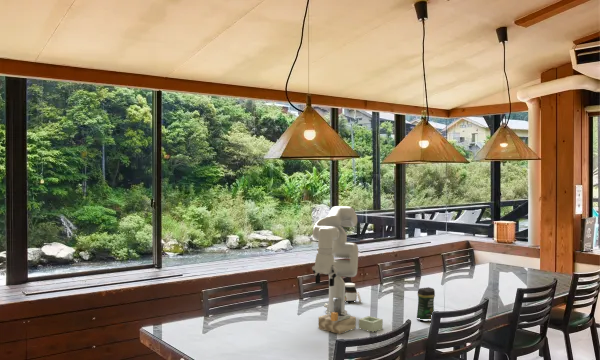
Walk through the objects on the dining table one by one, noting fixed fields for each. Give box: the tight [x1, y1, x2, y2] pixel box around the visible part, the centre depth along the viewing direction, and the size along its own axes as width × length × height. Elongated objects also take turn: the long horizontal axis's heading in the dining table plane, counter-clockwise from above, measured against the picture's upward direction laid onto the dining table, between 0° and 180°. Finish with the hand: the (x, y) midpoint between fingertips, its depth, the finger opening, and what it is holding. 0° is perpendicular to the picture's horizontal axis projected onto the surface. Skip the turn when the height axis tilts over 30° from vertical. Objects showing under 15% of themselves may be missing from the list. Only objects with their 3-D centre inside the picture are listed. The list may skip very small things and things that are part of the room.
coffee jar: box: [416, 286, 436, 319], centre depth 278 cm, size 10×8×19 cm
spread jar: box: [345, 282, 362, 303], centre depth 318 cm, size 12×11×12 cm
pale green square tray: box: [358, 315, 384, 333], centre depth 259 cm, size 9×9×5 cm
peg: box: [333, 297, 342, 315], centre depth 259 cm, size 4×4×16 cm
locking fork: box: [329, 312, 351, 322], centre depth 255 cm, size 10×14×5 cm
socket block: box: [318, 313, 356, 335], centre depth 259 cm, size 14×14×6 cm
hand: (324, 284), depth 253 cm, fingers open, 8 cm apart
